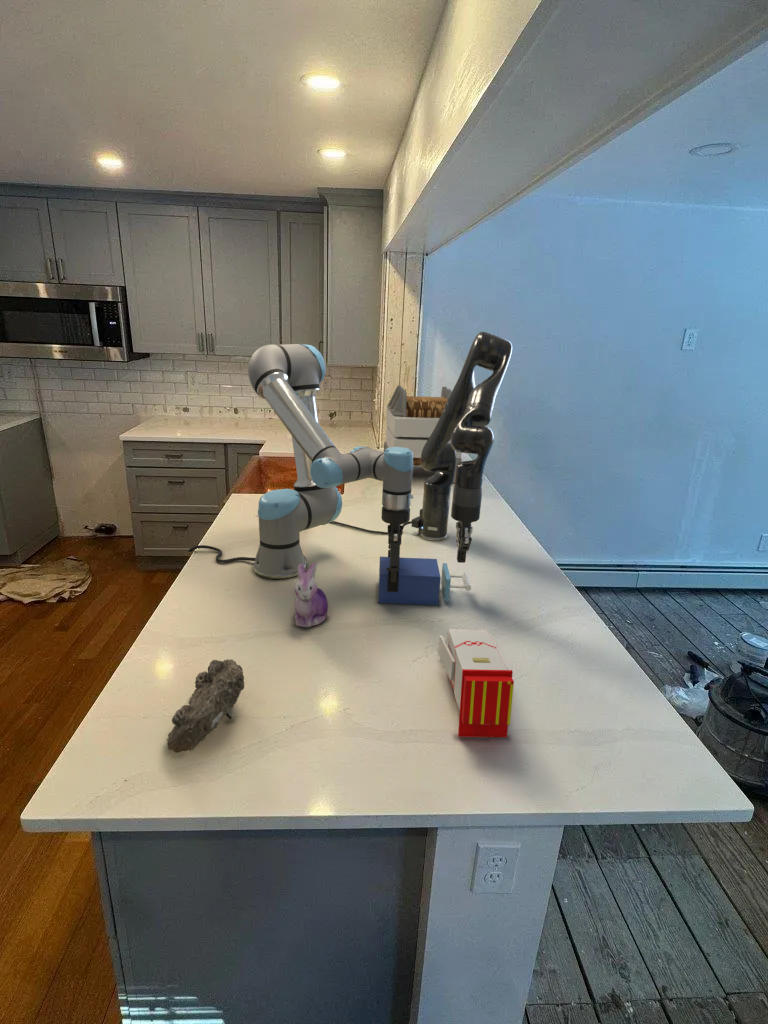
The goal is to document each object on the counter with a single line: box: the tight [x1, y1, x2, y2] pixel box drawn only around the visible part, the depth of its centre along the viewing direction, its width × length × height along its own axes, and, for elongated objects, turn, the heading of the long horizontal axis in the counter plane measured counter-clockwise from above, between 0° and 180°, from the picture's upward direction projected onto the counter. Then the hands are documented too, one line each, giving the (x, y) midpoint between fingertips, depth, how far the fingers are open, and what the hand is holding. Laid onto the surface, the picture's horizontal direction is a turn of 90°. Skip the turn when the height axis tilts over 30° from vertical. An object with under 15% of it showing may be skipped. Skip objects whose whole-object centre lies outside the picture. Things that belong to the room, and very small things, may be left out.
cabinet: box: [377, 556, 441, 606], centre depth 157 cm, size 16×11×8 cm
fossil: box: [166, 658, 245, 754], centre depth 106 cm, size 22×10×15 cm
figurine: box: [293, 562, 329, 628], centre depth 140 cm, size 9×10×15 cm
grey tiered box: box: [383, 384, 463, 484], centre depth 268 cm, size 34×33×41 cm
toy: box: [437, 628, 515, 738], centre depth 117 cm, size 12×13×30 cm
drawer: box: [439, 562, 472, 602], centre depth 157 cm, size 21×10×7 cm, turn 90°
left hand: (392, 580), depth 157 cm, fingers closed on cabinet, 11 cm apart
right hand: (461, 561), depth 155 cm, fingers closed
